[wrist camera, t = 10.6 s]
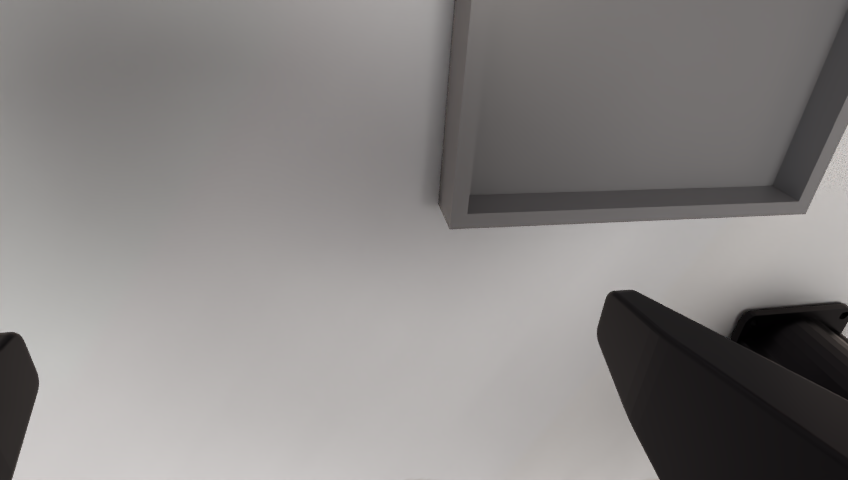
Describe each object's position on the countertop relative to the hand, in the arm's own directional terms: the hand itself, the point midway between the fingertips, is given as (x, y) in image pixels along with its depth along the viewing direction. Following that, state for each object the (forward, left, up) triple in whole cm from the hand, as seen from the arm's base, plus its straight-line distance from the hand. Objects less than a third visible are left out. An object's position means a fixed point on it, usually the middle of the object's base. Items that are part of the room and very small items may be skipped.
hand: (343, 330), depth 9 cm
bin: (-12, -1, -12) cm, 17 cm away
